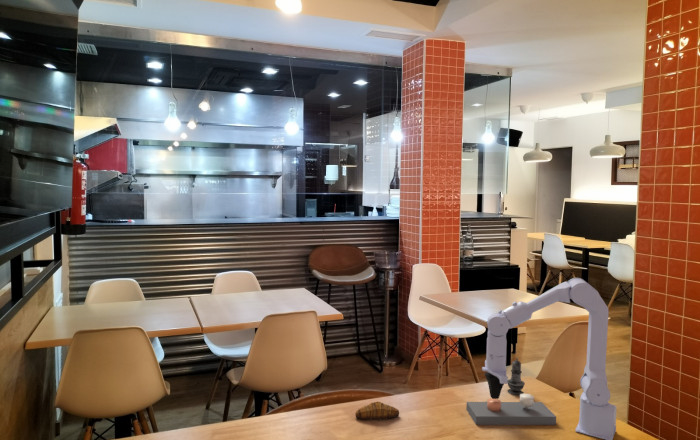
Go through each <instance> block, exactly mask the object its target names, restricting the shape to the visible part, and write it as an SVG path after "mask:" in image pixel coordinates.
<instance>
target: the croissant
mask: <svg viewBox="0 0 700 440" xmlns="http://www.w3.org/2000/svg"><path fill="white" fill-rule="evenodd" d="M354 416H355V418H356V419H360V420H373V421H375V420H376V421H380V419H381V420H387V419H392V418H395V417H398V416H400V411H399V409H398V408H396V407H394V406H391V405H389V404H385V403H383V402H381V401H374V402H370V403H369V404H367V405H364V406H362V407H361V408H358V410H356V411H355V415H354ZM386 418H387V419H386Z"/></svg>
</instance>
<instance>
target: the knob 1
mask: <svg viewBox="0 0 700 440" xmlns="http://www.w3.org/2000/svg"><path fill="white" fill-rule="evenodd" d="M486 402H487V409H488V410H490V411H493V412H499V411H501V402H502V401H501V400H500V399H492V398H491V397H490V398H488V399H487V401H486Z"/></svg>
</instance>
